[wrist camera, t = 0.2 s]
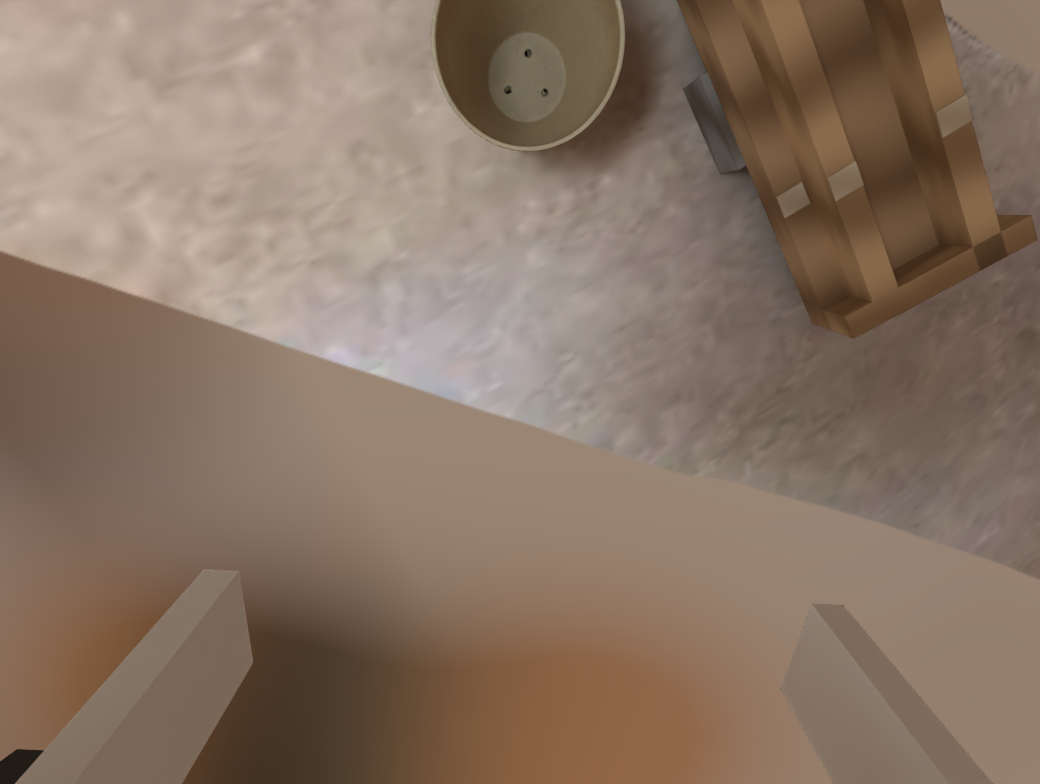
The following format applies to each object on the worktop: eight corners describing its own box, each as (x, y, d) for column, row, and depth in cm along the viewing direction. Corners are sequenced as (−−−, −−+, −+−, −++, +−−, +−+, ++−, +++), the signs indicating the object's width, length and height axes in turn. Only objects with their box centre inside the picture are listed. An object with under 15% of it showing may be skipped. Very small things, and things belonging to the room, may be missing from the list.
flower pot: (594, -27, 29) (618, -100, 23) (608, 152, 33) (631, 135, 26) (435, 0, 30) (411, -62, 23) (464, 174, 33) (451, 164, 27)
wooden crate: (594, -112, 28) (620, -223, 21) (788, -265, 26) (890, -445, 19) (783, 318, 37) (847, 343, 30) (940, 231, 35) (1048, 235, 28)
